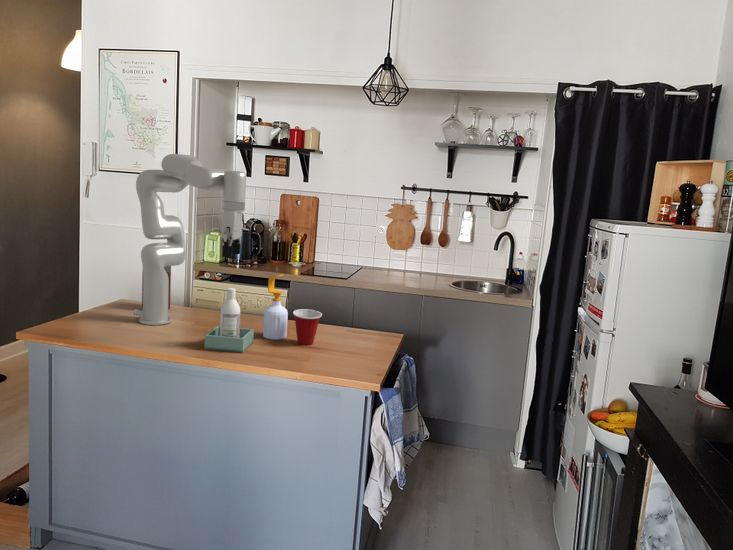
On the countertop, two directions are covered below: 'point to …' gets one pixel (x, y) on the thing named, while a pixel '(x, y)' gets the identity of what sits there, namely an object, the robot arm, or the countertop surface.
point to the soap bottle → (275, 315)
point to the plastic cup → (306, 325)
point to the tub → (229, 341)
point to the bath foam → (230, 316)
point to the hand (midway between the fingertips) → (231, 255)
